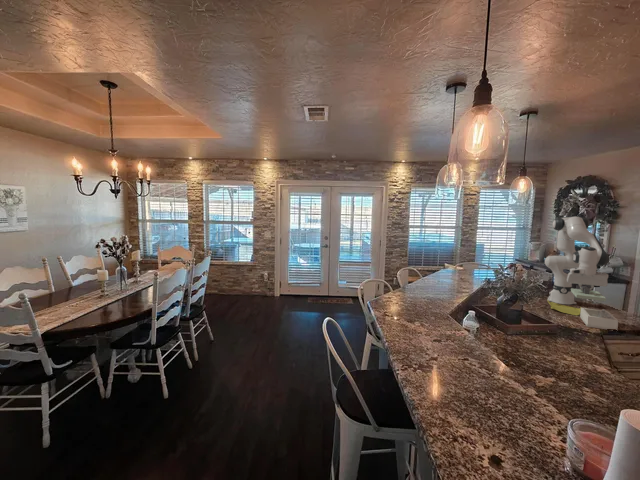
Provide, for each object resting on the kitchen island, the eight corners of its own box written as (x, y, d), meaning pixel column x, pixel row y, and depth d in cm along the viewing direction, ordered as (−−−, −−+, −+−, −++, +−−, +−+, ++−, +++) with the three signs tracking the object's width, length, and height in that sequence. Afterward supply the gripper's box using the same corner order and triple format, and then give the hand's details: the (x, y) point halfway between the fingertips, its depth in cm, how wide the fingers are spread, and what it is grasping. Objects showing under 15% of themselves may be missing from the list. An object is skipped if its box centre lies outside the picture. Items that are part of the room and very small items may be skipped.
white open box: (580, 317, 203) (581, 305, 202) (607, 321, 196) (608, 308, 195) (587, 326, 186) (588, 313, 185) (617, 331, 179) (618, 317, 178)
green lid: (570, 291, 205) (571, 283, 205) (597, 294, 197) (598, 286, 197) (576, 297, 188) (577, 289, 188) (605, 301, 181) (606, 292, 180)
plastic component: (580, 309, 213) (581, 306, 206) (579, 318, 212) (579, 316, 205) (547, 301, 227) (547, 299, 220) (545, 310, 225) (545, 308, 218)
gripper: (607, 272, 189) (605, 292, 190) (567, 268, 200) (565, 288, 201) (610, 273, 184) (608, 294, 185) (568, 270, 195) (567, 290, 196)
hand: (585, 291), depth 193 cm, fingers closed on green lid, 2 cm apart
